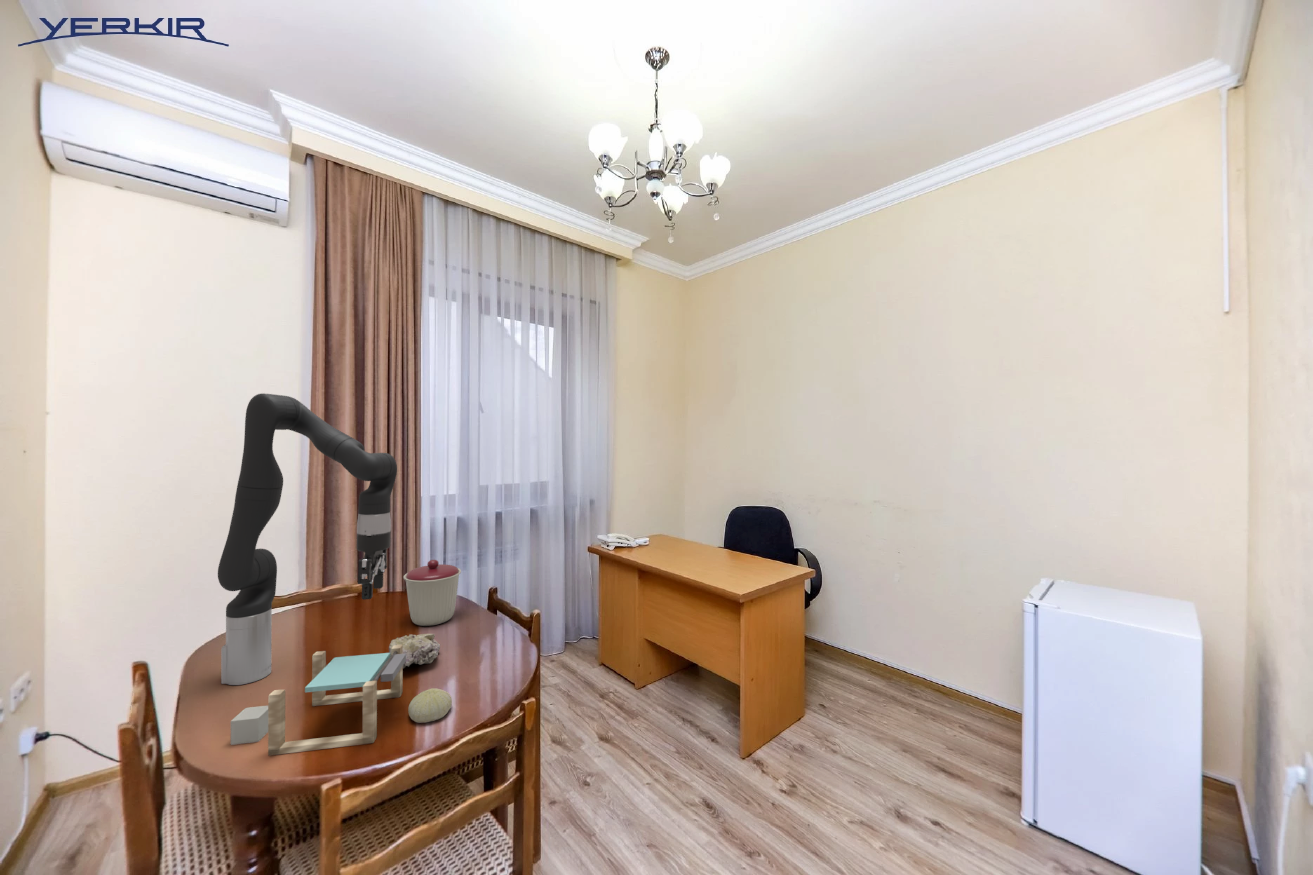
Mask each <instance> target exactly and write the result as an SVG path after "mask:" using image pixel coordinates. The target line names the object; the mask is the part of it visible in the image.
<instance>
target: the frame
mask: <svg viewBox="0 0 1313 875" xmlns="http://www.w3.org/2000/svg"><path fill="white" fill-rule="evenodd" d="M395 654H403V645H394V646H393V647H392V648H391V657H390V658H389V659H388V661H387V662H386V663H385V665H384V666H383V667H382V669H381V670H380V671H379V673H378V674H377V676H376V677H375V678H374V680H373V681H367V682H366V683H365V684H364V685H363V687H362V691H359V692H357V691H356V692H348V693H340V694H329V695H326V694H327V693H326V692H327V690H325V691H315V692H311V706H312V707H315V706H316V707H317V706H326V705H327V706H328V705H335V704H345V703H346V704H347V703H357V702H362V732H361V733H351V734H343V735H336V736H328V737H327V736H326V737H318V738H309V739H298V740H293V741H292V740H290V741H286V689H275V690H272V692H270V693H269V695H268V701H267V702H268V704H267V706H268V732H267V736H268V737H267V739H268V740H267V748H268V749H267V755H268V757H269V756H276V755H285V754H293V753H300V752H301V753H302V752H309V751H316V750H317V751H318V750H326V749H333V748H335V749H337V748H342V747H350V746H359V745H367V744H373V743H374V742H375V740H376V739H377V736H378V734H377V732H378V731H377V730H378V729H377V727H378V726H377V725H378V724H377V723H378V720H377V719H378V716H377V715H378V713H377V712H378V711H377V710H378V706H377V705H378V700H384V699H396V698H401V696H402V694H403V672H404V671H403V669H404V668H403V666H402V667H401V669H400V671H399V672H398V674H397V675H396V677H395V678H394V680H393V681H390V689H389V688H388V689H381V690H379V689H378V685H377V684H378V681H379V680H380V679H381V674H382V672H383V671H384V670H385V668H386V667H387V665H388V664H389V663H390V661H391V660H392V658H393V657H394V656H395ZM311 658H312V660H311V661H312V664H311V665H312V668H311V669H312V670H311V672H312V674H311V677H312V678H311V681H312V680H313V679H314V678H315V677H316V676H317V675H318V674H319V673H320V672H321V671H322V670H323V669H324V668H325V667H326V666H327V651H326V650H321V651H315V652H314V653H313V654H312V657H311Z"/></svg>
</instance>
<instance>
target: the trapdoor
mask: <svg viewBox="0 0 1313 875" xmlns="http://www.w3.org/2000/svg"><path fill="white" fill-rule="evenodd" d="M389 658H390V653H389V652H384V653H370V654H359V655H346V656H337V657H333V658H332V660H331V661H330V662H329V663H328V664H326V667H325V668H324V669H323V670H322V671H321V672H320V673H319V674H318V675H317V676H316V677H315V678H314V679H313V680H312V679H311V681H310V682H309V683H308V684H307V685H306V686H305V687H304V693H312V692H315V691H325V690H326V691H333V690H344V689H353V688H363V685H364V684H365V683H366V682H367V681H373V680H374V679H375V677H376V676H377V675H378V673H379V672H380V670H381V669H382V668H383V666H384V665H385V664H386V662H387V661H388V660H389ZM405 661H406V654H395V656H394V657H393V658H392V660H391V661H390V663H389V664H388V665H387V667H386V668H385V670H384V671H383V672H382V674H381V677H380V682H381V683H384V682H385V683H386V682H391V681H393V680H394V678H395V677H396V675H397V674H398V672H399V671H400V669H401V667H402V666H403V664H404V663H405Z"/></svg>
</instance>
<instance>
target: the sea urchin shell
mask: <svg viewBox="0 0 1313 875" xmlns="http://www.w3.org/2000/svg"><path fill="white" fill-rule="evenodd" d="M452 704H453V699H452V696H451V695H450V693H449V692H448V691H446V690H443V689H441V688H437V687H435V688H434V687H432V688H429V689H426V690H423V691H422V692H419V694H417V695H416V696H414V697H413V698H412V700H411V701H410V703H409V705H408V711H407V712H408V715H409V716H408V717H410V720H412V721H414V722H415V723H419V724H420V723H421V724H422V723H429V722H434V721H437V720H441V719H442V718H444V716H445V715H446V714H448V713H449V711H450V709H451V708H452Z"/></svg>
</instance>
